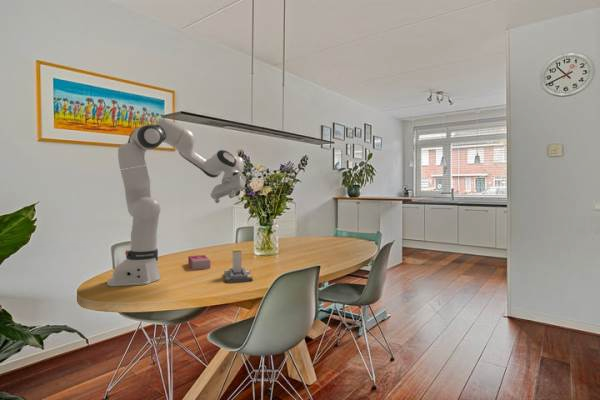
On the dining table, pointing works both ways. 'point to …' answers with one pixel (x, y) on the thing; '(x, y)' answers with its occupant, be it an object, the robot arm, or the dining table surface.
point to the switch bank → (237, 276)
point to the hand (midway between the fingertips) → (223, 199)
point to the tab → (236, 260)
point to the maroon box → (198, 262)
